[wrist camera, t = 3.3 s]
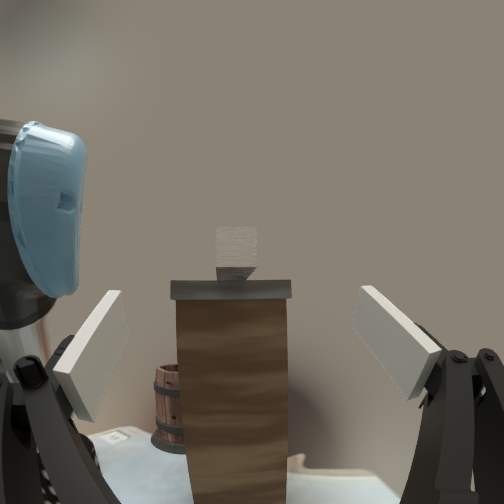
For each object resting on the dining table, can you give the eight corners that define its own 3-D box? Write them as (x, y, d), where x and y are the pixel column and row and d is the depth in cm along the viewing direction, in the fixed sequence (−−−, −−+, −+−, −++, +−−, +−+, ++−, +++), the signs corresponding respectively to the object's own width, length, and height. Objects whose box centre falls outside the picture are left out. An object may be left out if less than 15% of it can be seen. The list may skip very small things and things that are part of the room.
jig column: (288, 528, 22) (290, 279, 30) (196, 533, 21) (170, 280, 28) (272, 485, 35) (269, 288, 42) (199, 488, 33) (185, 289, 41)
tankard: (145, 429, 57) (137, 361, 61) (202, 423, 66) (198, 359, 70) (167, 473, 38) (154, 385, 42) (242, 458, 46) (239, 377, 50)
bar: (257, 266, 20) (256, 227, 21) (216, 267, 20) (216, 226, 20) (234, 292, 51) (233, 276, 52) (218, 292, 51) (217, 277, 51)
